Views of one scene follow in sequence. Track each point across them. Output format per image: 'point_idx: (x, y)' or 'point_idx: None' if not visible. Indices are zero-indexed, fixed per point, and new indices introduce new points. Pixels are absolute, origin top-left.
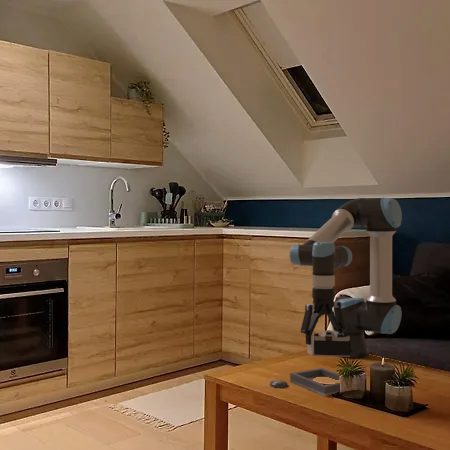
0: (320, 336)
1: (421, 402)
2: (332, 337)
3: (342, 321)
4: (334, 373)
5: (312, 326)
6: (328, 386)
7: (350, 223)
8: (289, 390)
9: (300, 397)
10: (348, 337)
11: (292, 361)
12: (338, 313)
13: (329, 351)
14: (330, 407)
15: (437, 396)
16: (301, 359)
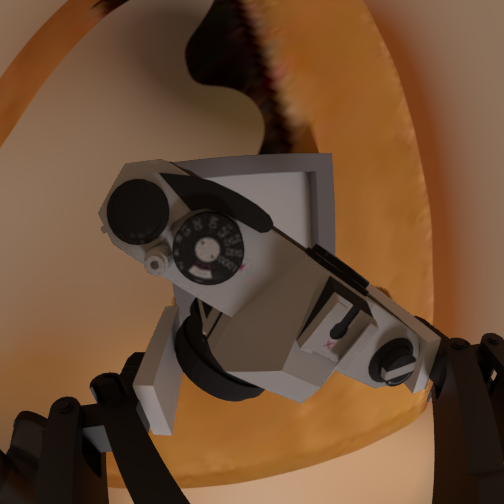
0: (393, 318)
1: (94, 15)
2: (307, 256)
3: (55, 456)
4: (184, 294)
5: (481, 383)
6: (314, 153)
7: None
8: (376, 263)
9: (387, 188)
10: (142, 161)
11: (200, 464)
12: None
13: (294, 241)
14: (358, 72)
15: (30, 52)
16: (171, 466)
